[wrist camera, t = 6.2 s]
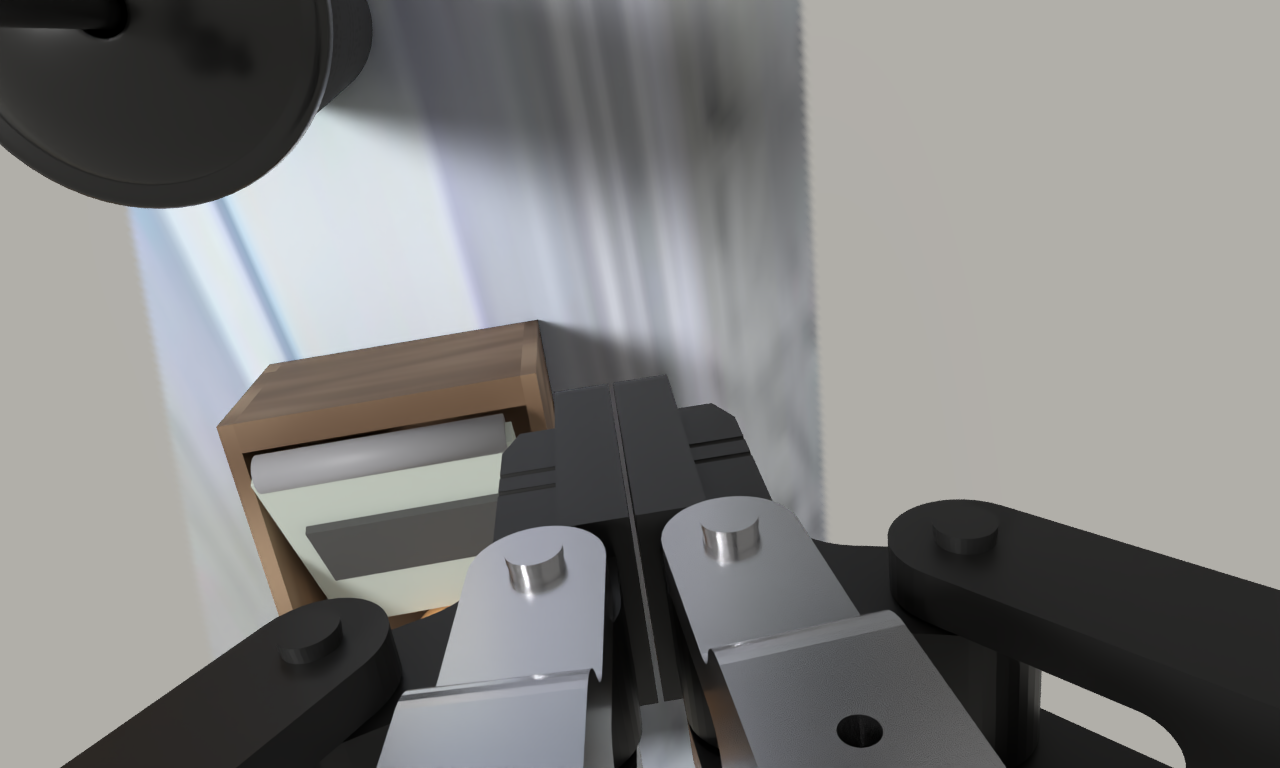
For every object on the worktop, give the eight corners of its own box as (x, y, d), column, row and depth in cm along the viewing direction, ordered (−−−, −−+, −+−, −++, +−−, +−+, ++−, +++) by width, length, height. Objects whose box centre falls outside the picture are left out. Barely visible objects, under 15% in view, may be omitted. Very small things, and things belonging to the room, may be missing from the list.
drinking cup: (465, 42, 32) (348, 47, 13) (299, 188, 33) (-28, 386, 14) (297, -163, 29) (-145, -521, 11) (124, 2, 30) (-553, -57, 12)
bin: (269, 364, 35) (216, 426, 29) (537, 319, 35) (535, 372, 30) (385, 749, 41) (360, 861, 36) (612, 708, 42) (622, 812, 36)
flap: (247, 448, 29) (241, 483, 28) (507, 404, 29) (509, 436, 28) (346, 600, 36) (344, 631, 35) (554, 564, 36) (557, 593, 35)
